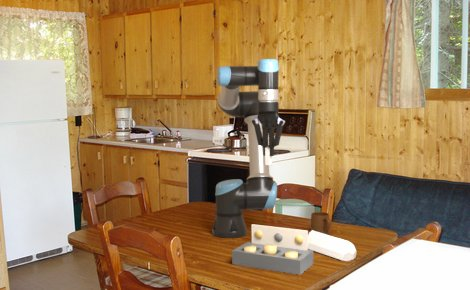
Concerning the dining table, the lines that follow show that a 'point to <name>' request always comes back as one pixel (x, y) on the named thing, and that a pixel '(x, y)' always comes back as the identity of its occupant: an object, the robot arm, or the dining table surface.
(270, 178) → the robot arm
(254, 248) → the button left
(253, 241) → the console
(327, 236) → the crystal
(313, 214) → the mug
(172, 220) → the dining table surface
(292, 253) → the button right
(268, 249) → the button middle
